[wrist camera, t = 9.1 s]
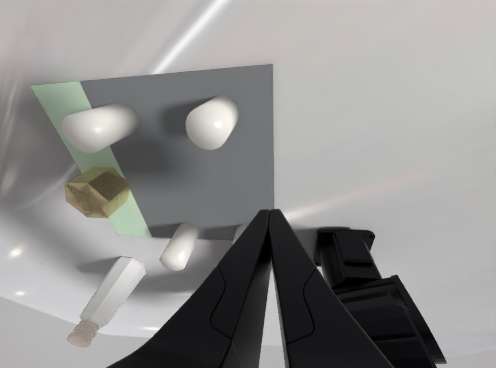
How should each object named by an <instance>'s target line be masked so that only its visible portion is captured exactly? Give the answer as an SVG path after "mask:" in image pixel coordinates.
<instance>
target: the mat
mask: <svg viewBox="0 0 496 368" xmlns="http://www.w3.org/2000/svg"><path fill="white" fill-rule="evenodd" d="M30 87H31V89H32V90H33V92H34V94H35V95H36V97H37V99H38V100H39V102H40V104H41V106H42V107H43V109H44V111H45V112H46V114H47V116H48V117H49V119H50V121H51V122H52V124H53V126H54V127H55V129H56V131H57V133H58V134H59V136H60V138H61V139H62V141H63V143H64V144H65V146H66V148H67V149H68V151H69V153H70V155H71V156H72V158H73V160H74V161H75V163H76V165H77V166H78V168H79V170H80V171H81V173H83V172H85V171H87V170H89V169H90V168H92V167H112V168H113V169H115V170H116V171H117V172H118V173H119V174H120V175H121V176H122V177H123V178H124V179H125V180H126V181H127V182H128V183H129V184H130V190H129V196H128V200H127V201H126V202H125V203H124V204H123V205H122V206H120V207H119V208H118V209H117V210H116V211H115V212H114V213H113V214H112V215H111V216H110V217H108V219H109V220H110V222H111V224H112V225H113V227H114V229H115V231H116V232H117V234H118V235H124V236H148V237H167V238H172V236H173V235H174V233H175V231H176V230H177V228H178V226H179V225H180V224H181V223H185V222H187V223H191V224H194V225H195V226H196V227H197V228H198V229H199V231H200V234H199V237H198V239H216V240H234V236H235V232H236V229H237V227H238V226H240V225H243V224H249V223H250V222H251V221H252V220H253V218H254V217H255V216H256V214H257V213H258V212H259V211H260V210H261V209H269V210H271V209H274V155H273V64H267V65H256V66H245V67H233V68H222V69H211V70H200V71H189V72H177V73H166V74H155V75H144V76H133V77H122V78H110V79H99V80H88V81H77V82H66V83H54V84H43V85H32V86H30ZM217 96H227V97H229V98H231V99H232V100H233V101H234V102H235V103H236V104H237V106H238V109H239V120H238V122H237V124H236V125H235V127H234V129H233V130H232V132H231V133H230V135H229V136H228V138H227V139H226V141H225V142H224V144H223V145H222V146H221V147H219V148H217V149H213V150H206V149H203V148H200V147H198V146H197V145H195V144H194V143H193V142H192V141H191V139H190V138H189V136H188V134H187V131H186V119H187V116H188V115H189V113H190V112H191V111H192V110H194V109H195V108H197V107H199V106H200V105H202V104H204V103H206V102H207V101H209V100H211V99H213V98H214V97H217ZM114 103H124V104H126V105H128V106H129V107H131V108H132V109H133V110H134V112H135V113H136V115H137V116H138V119H139V128H138V130H137V131H136V132H135V133H133V134H131V135H129V136H127V137H125V138H123V139H121V140H119V141H117V142H115V143H113V144H111V145H109V146H107V147H105V148H103V149H101V150H99V151H97V152H95V153H86V152H83V151H81V150H79V149H77V148H76V147H75V146H73V145H72V144H71V143H70V142H69V141H68V139H67V138H66V136H65V135H64V133H63V130H62V120H63V118H64V117H65V116H67V115H71V114H75V113H79V112H82V111H86V110H90V109H94V108H98V107H102V106H106V105H110V104H114Z"/></svg>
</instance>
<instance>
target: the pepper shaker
mask: <svg viewBox="0 0 496 368" xmlns="http://www.w3.org/2000/svg"><path fill="white" fill-rule="evenodd" d="M145 274H146V270H145V267H144V265H143V264H142V263H140V262H139V261H137V260H135V259H134V258H129V257H120V258H119V259H118V260H117V261H116V262H115V263H114V265H113V266H112V268H111V269H110V271H109V272H108V274H107V275H106V277H105V278H104V280H103V281H102V283H101V284H100V286H99V287H98V289H97V290H96V292H95V293H94V295H93V296H92V298H91V299H90V301H89V302H88V304H87V305H86V307H85V308H84V310H83V312H82V313H81V315H80V318H81V319H82V321H80V323H79V324H78V325H77V326H76V327H75V329H74V331H73V332H72V333H71V334H70V335H69V336H68V337H67V340H68V341H69V343H71V344H73V345H75V346H78V347H88V346H89V345H90V344H91V341H92V339H93V338H94V337H95V335H96V334H97V331H98V330H99V329H100V327H103V326H105V325H107V324H108V322H109V321H110V320H111V319H112V317H113V316H114V315H115V313H116V312H117V311H118V309H119V308H120V307H121V305H122V304H123V303H124V302H125V300H126V299H127V298H128V296H129V295H130V294H131V292H132V291H133V290H134V288H135V287H136V286H137V284H138V283H139V282H140V280H141V279H142V278H143V276H144V275H145Z"/></svg>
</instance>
